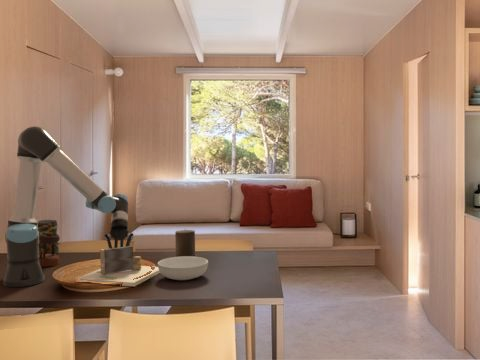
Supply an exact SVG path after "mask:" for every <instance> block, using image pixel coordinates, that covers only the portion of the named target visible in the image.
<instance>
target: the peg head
mask: <svg viewBox="0 0 480 360" xmlns="http://www.w3.org/2000/svg"><path fill="white" fill-rule="evenodd" d="M99 256H100V262H99V263H100V269H101V274H107V273H114V272H120V271H127V270H138V269H141V266H142V257H141V256H137V255H136V256H134V246H133V245H130V246H127V247H125V246H123V247H120V246H119V247H118V248H114V247H112V248H111V249H109V248H105V249H103V248H102V249H99Z"/></svg>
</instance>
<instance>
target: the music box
mask: <svg viewBox="0 0 480 360" xmlns="http://www.w3.org/2000/svg"><path fill="white" fill-rule="evenodd" d="M51 227H52V224H50V223H49V224H47V225H44V226H42V227H40V228H39V229H38V233H39V232H40V231H42V235H40V236H39V235H38V247H39V246H43V248H42V249H41V252H40V251H39V263H40V266H41V268H42V267H43V268H44V267H45V268H47V267H55V266H58V265H59V264H60V256H59V255H58V254H54V249H56V248H57V249H58V248H59V245H60V239H61V237H60V235H59V233H57V234H52V232H50V233H49V232H47V234H43V231H47V230H48V229H50V230H51ZM39 242H40V243H41V244H39ZM57 242H58V243H57ZM55 243H57V244H58V246H57V244H55ZM46 244H47V249H46ZM49 244H50V245H49ZM51 245H52V248H51ZM54 246H55V247H54ZM51 249H52V254H46V253H47V252H46V250H47V251H48V252H51Z"/></svg>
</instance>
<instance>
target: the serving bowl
mask: <svg viewBox="0 0 480 360" xmlns="http://www.w3.org/2000/svg"><path fill="white" fill-rule="evenodd" d="M157 267H158V269H159V271H160V273H159V274H161V275H162V276H164V277H165V278H167V279H171V280H173V281H174V280H175V281H188V280H193V279H195V278H199V277H200V276H202V275H203V274H205V272H206V271H207V269H208V267H209V260H208V259H207V258H204V257H200V256H195V257H194V256H181V257H176V256H173V257H166V258H163V259H161V260H159V261H158V262H157Z"/></svg>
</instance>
